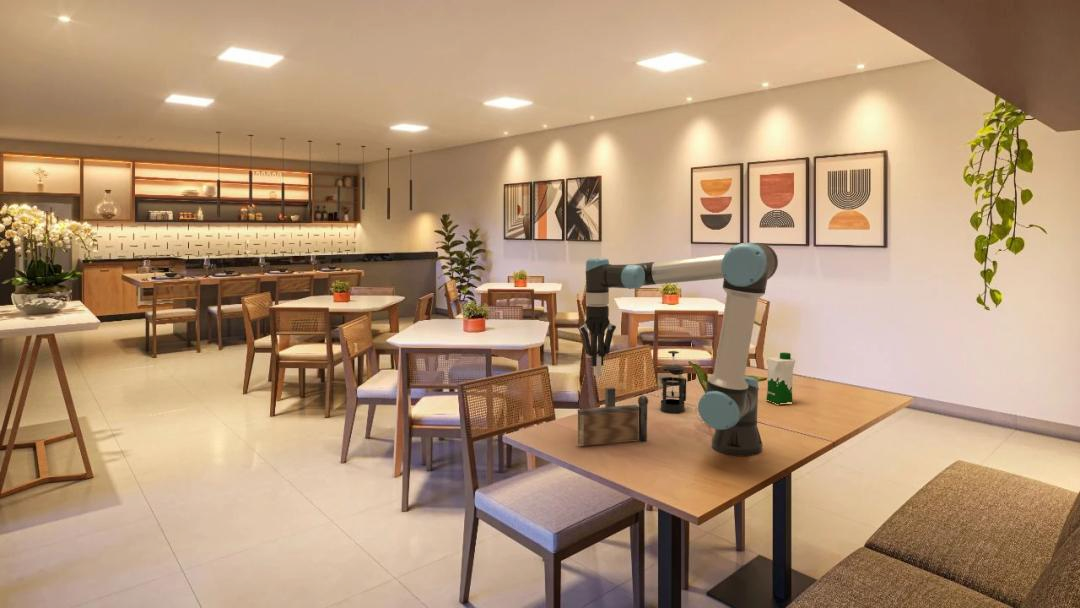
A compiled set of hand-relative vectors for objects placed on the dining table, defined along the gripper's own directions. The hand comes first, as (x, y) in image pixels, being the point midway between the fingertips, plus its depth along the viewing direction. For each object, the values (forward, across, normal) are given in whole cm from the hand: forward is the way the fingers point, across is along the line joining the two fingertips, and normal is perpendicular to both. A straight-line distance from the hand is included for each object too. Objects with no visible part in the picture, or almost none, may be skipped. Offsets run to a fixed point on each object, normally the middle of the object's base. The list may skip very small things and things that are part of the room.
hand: (597, 375), depth 207 cm
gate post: (+21, -11, +10) cm, 26 cm away
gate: (+20, +1, +9) cm, 22 cm away
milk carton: (+21, -86, -11) cm, 89 cm away
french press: (+21, -41, -17) cm, 49 cm away
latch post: (+20, -12, -14) cm, 27 cm away
